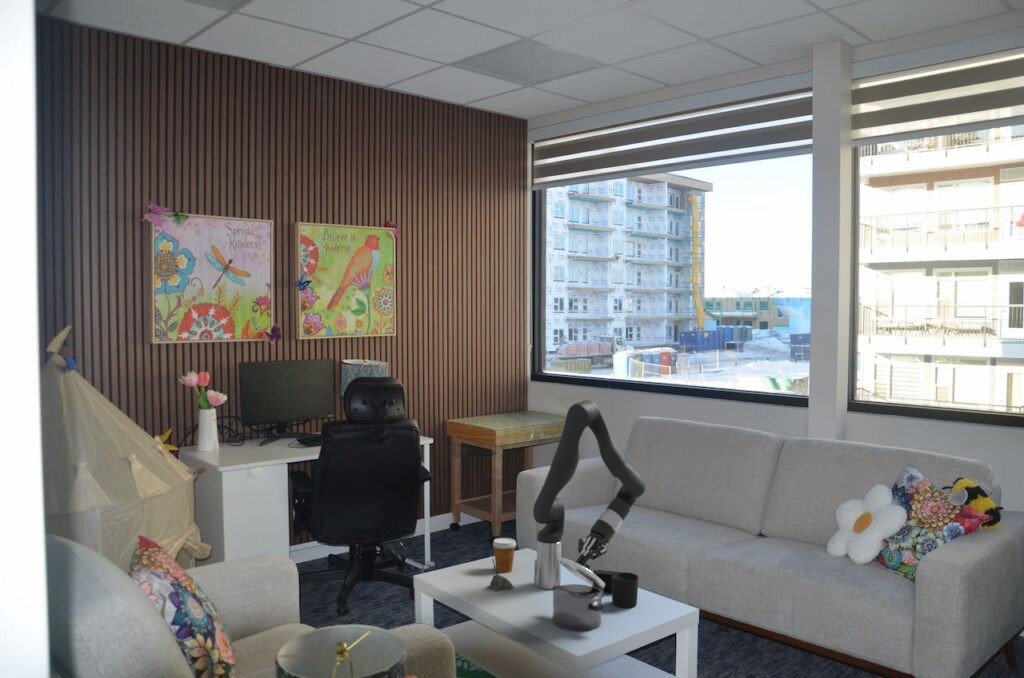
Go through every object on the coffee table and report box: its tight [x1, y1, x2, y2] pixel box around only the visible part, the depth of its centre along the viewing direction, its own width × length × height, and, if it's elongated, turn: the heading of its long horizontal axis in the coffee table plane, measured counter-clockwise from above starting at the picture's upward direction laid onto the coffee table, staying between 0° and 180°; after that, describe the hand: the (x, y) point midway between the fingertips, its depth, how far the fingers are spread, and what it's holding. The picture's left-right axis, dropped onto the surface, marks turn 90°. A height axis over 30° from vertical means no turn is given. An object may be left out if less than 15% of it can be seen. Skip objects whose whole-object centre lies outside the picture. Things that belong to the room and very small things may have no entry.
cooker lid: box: [560, 556, 605, 589], centre depth 262 cm, size 18×17×3 cm
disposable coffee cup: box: [492, 537, 517, 574], centre depth 317 cm, size 10×10×12 cm
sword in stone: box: [486, 558, 515, 592], centre depth 295 cm, size 10×8×12 cm
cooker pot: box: [552, 583, 605, 632], centre depth 261 cm, size 17×23×10 cm
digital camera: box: [591, 569, 621, 594], centre depth 294 cm, size 10×5×7 cm, turn 78°
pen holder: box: [611, 571, 639, 609], centre depth 279 cm, size 9×9×10 cm
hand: (577, 566), depth 261 cm, fingers closed
